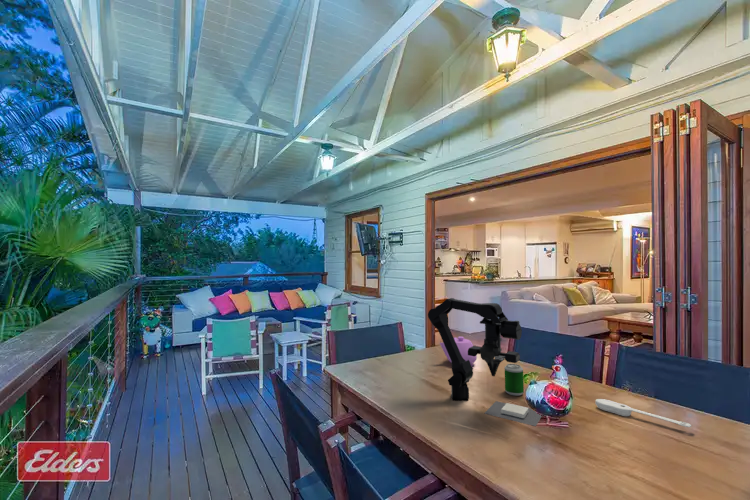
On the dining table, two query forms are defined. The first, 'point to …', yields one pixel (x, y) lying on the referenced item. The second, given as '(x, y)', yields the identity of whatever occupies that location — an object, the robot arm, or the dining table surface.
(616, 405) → the spatula
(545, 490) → the dining table surface
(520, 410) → the tile
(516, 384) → the soda can
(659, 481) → the dining table surface
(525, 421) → the mat
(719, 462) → the dining table surface
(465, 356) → the teapot
